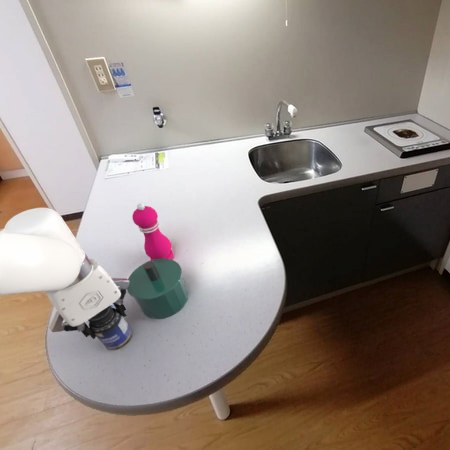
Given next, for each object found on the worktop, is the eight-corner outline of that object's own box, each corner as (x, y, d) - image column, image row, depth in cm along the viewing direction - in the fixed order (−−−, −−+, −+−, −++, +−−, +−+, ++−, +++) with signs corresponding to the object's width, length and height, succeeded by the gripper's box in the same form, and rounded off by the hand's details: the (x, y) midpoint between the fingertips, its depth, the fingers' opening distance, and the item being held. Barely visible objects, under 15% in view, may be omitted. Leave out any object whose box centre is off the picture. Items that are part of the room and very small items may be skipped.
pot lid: (145, 311, 68) (136, 296, 64) (118, 283, 74) (108, 267, 71) (193, 277, 75) (187, 261, 72) (164, 254, 82) (158, 238, 78)
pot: (157, 327, 74) (145, 307, 68) (133, 302, 79) (120, 281, 74) (197, 296, 80) (189, 275, 75) (172, 275, 86) (163, 254, 81)
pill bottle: (101, 353, 69) (77, 326, 62) (107, 329, 73) (86, 302, 66) (130, 347, 70) (110, 320, 63) (135, 324, 74) (116, 296, 67)
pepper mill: (180, 255, 92) (160, 201, 79) (160, 270, 88) (136, 216, 75) (164, 246, 95) (143, 193, 82) (144, 260, 91) (118, 206, 78)
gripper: (18, 312, 49) (73, 364, 61) (122, 252, 59) (152, 307, 71) (4, 288, 53) (58, 342, 65) (105, 236, 63) (135, 290, 75)
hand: (107, 323), depth 68 cm, fingers closed on pill bottle, 6 cm apart
